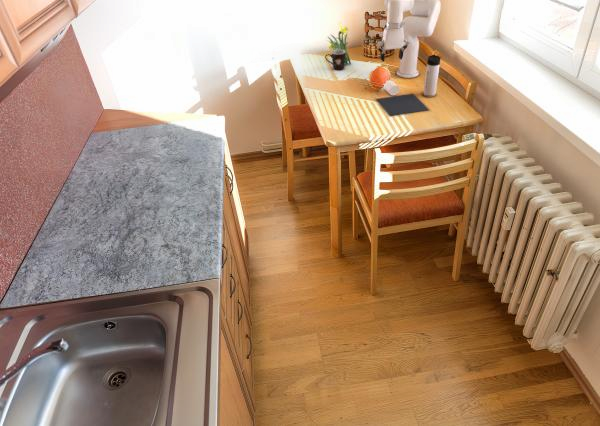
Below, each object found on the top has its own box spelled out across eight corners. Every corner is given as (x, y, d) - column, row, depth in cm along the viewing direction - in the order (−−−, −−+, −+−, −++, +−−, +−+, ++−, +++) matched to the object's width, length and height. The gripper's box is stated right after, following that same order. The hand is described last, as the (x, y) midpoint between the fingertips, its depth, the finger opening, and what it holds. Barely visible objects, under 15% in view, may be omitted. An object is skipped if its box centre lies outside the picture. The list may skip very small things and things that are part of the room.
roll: (390, 86, 248) (391, 76, 244) (399, 94, 239) (400, 84, 235) (380, 87, 247) (380, 77, 243) (388, 96, 238) (389, 86, 234)
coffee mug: (348, 66, 274) (348, 50, 267) (341, 71, 268) (341, 55, 262) (331, 64, 279) (331, 48, 273) (324, 69, 273) (324, 52, 267)
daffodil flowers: (327, 68, 276) (320, 36, 296) (346, 77, 283) (338, 45, 303) (343, 46, 265) (334, 14, 285) (362, 56, 272) (352, 24, 292)
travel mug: (434, 91, 239) (439, 54, 226) (436, 97, 234) (441, 59, 221) (422, 92, 239) (427, 54, 227) (424, 97, 234) (428, 59, 222)
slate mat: (376, 99, 235) (376, 98, 235) (412, 94, 238) (412, 93, 238) (390, 115, 220) (390, 115, 220) (428, 110, 222) (428, 109, 222)
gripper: (407, 21, 225) (404, 55, 236) (375, 25, 223) (373, 59, 234) (413, 25, 220) (410, 60, 230) (380, 29, 217) (378, 64, 228)
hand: (391, 59), depth 232 cm, fingers open, 9 cm apart
